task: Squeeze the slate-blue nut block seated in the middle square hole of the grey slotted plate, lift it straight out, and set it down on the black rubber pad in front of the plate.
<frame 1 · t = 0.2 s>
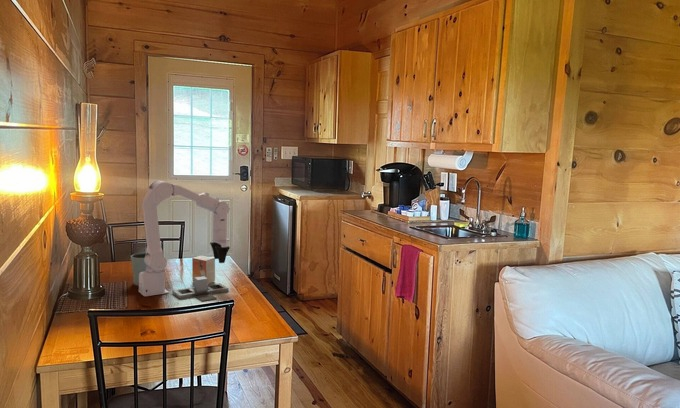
hand: (219, 260, 212), 10 cm above the table, fingers open, 7 cm apart
small box: (203, 281, 215), on the table
pad: (206, 298, 193), on the table
nut block: (200, 285, 200), in the grey slotted plate
drinking glass: (144, 283, 210), on the table
grey slotted plate: (200, 292, 200), on the table
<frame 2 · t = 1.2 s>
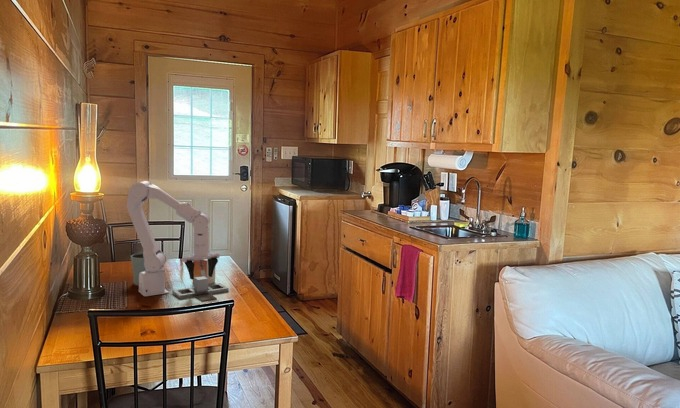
hand: (201, 277, 199), 6 cm above the table, fingers open, 7 cm apart
nothing on the table moved.
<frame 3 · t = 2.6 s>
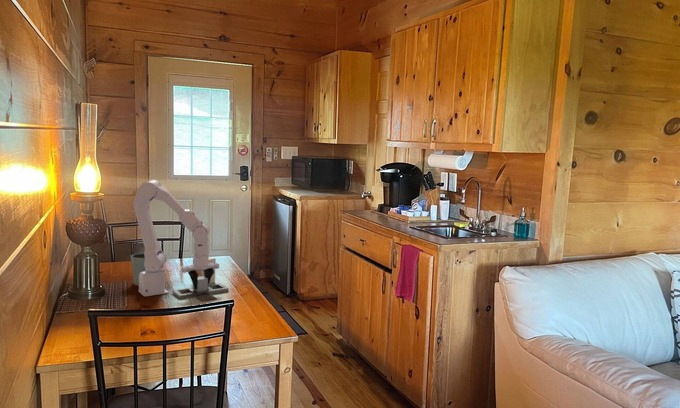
hand: (200, 287, 200), 2 cm above the table, fingers closed on nut block, 4 cm apart
nut block: (200, 285, 200), in the grey slotted plate, touching gripper
everything else where it was.
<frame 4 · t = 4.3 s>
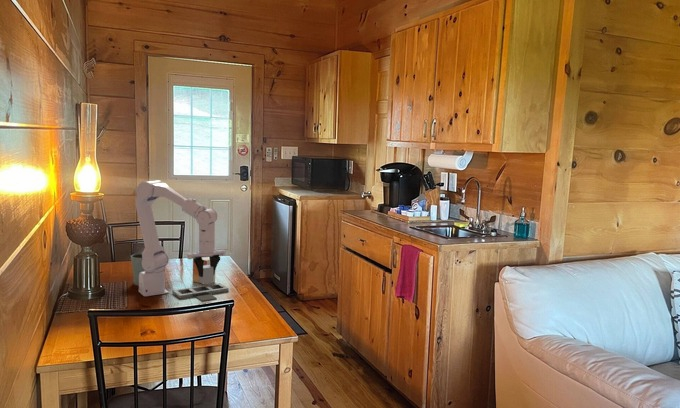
hand: (206, 275, 192), 9 cm above the table, fingers closed on nut block, 4 cm apart
nut block: (206, 274, 192), point 9 cm above the table, touching gripper
everything else where it was.
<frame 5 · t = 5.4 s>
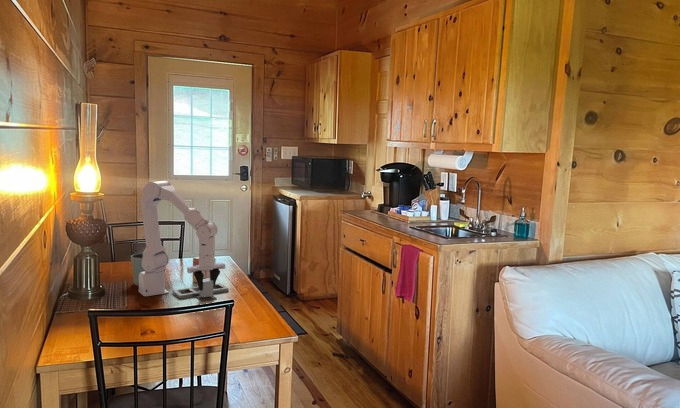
hand: (206, 289, 193), 4 cm above the table, fingers closed on nut block, 4 cm apart
nut block: (206, 287, 193), point 4 cm above the table, touching gripper
everything else where it was.
when the fingers open (4 cm above the table, at t = 6.1 s): nut block stays where it is, resting on pad.
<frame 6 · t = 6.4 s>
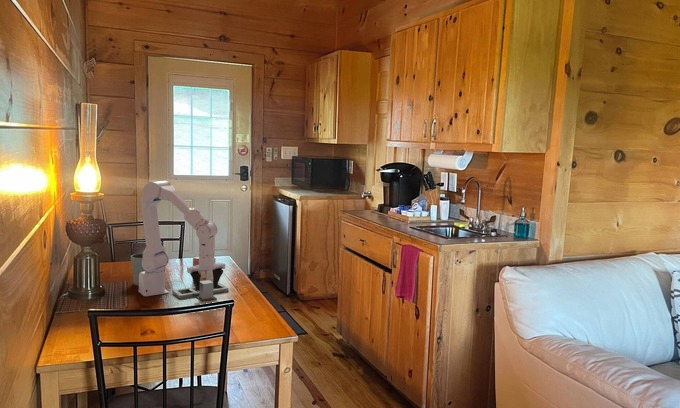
hand: (206, 289, 193), 4 cm above the table, fingers open, 6 cm apart
nut block: (206, 289, 193), on the pad
everything else where it was.
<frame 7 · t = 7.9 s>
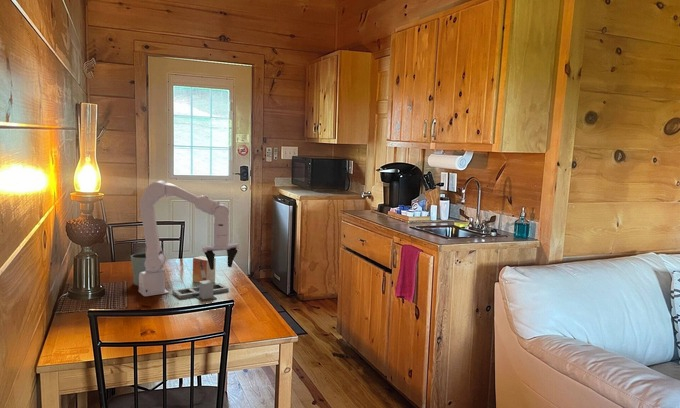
hand: (220, 267, 201), 10 cm above the table, fingers open, 7 cm apart
nothing on the table moved.
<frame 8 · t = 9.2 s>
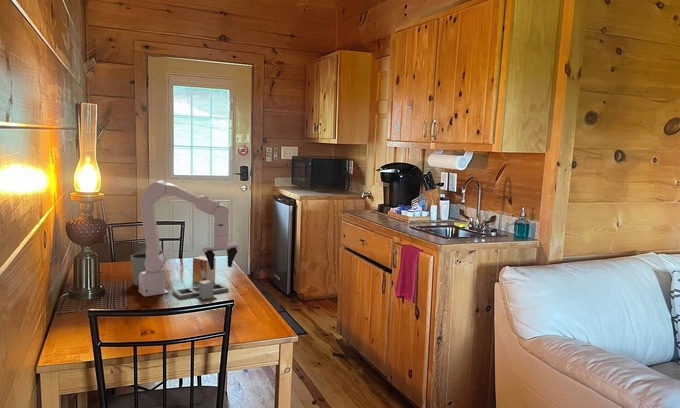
hand: (220, 267, 201), 10 cm above the table, fingers open, 7 cm apart
nothing on the table moved.
at the end: nut block inside the target area on the pad (0.2 cm from its centre), point 3.4 cm above the pad's base; nut block tilted 0°; nut block touching pad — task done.
